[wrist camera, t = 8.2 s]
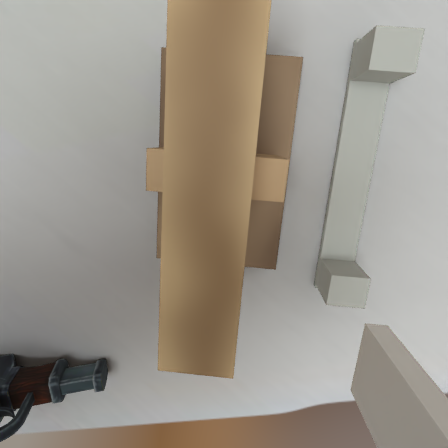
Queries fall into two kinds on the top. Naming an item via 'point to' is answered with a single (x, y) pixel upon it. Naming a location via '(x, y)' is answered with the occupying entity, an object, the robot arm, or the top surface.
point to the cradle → (360, 157)
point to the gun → (42, 386)
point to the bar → (208, 177)
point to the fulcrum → (264, 161)
